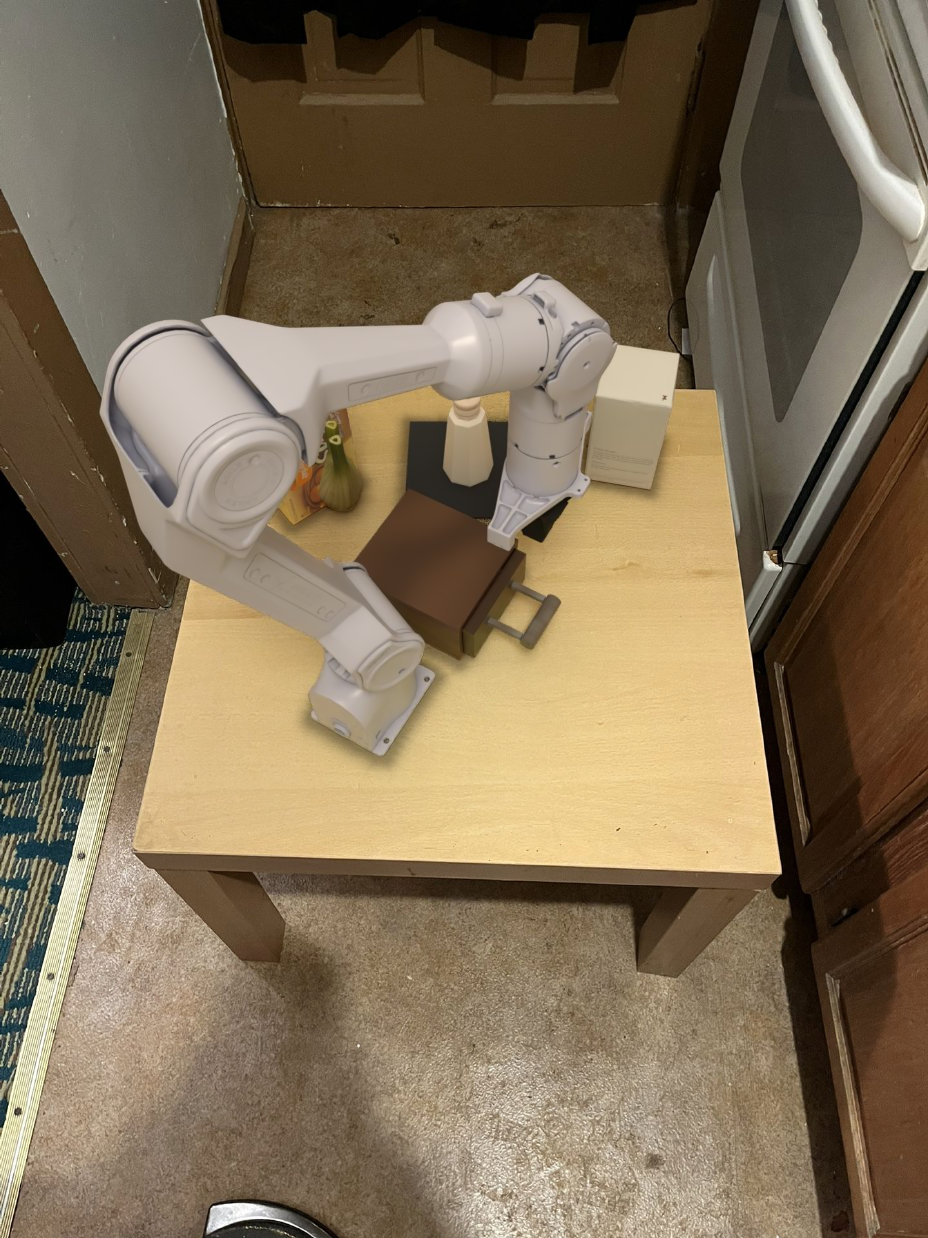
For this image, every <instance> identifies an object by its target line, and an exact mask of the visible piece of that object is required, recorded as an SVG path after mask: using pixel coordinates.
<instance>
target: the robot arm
mask: <svg viewBox="0 0 928 1238" xmlns="http://www.w3.org/2000/svg"><path fill="white" fill-rule="evenodd" d="M200 322H201V323H202V324H203V326H204V327H205V328H206V329H207V330H208V331H207V330H206V329H204V328H203V327H202V326H200V325H198V324H197V323H194V322H191V321H188V320H184V319H163V320H159V321H154V322H151V323H149V324H146V325H144V326H142V327H141V328H139V329H137V330H135V331H134V332H132V333H131V334H130V335H129V336H128V337H127V338H125V339H124V340H123V341H122V342H121V343H120V344H119V346H118V347H117V348H116V349H115V351H114V353H113V354H112V355H111V358H110V360H109V363H108V366H107V369H106V372H105V379H104V384H103V390H102V396H101V401H100V407H99V416H100V418H101V420H102V423H103V425H104V427H105V429H106V432H107V434H108V436H109V439H110V441H111V443H112V445H113V447H114V449H115V452H116V454H117V456H118V459H119V463H120V467H121V470H122V473H123V476H124V479H125V483H126V486H127V490H128V493H129V496H130V500H131V503H132V507H133V510H134V513H135V517H136V520H137V524H138V526H139V529H140V531H141V532H142V534H143V535H144V537H145V538H146V539H147V541H148V543H149V544H150V545H151V547H152V548H153V550H154V551H155V553H156V554H157V556H158V558H159V559H160V560H161V562H162V563H163V565H164V566H166V567H167V568H168V569H169V570H171V571H172V572H174V573H176V574H178V575H181V576H183V577H185V578H187V579H189V580H191V581H192V582H196V583H197V584H200V585H202V586H204V587H206V588H207V589H210V590H211V591H214V592H216V593H218V594H220V595H223V596H224V597H227V598H228V599H230V600H233V601H235V602H236V603H239V604H240V605H243V606H245V607H247V608H249V609H252V610H254V611H256V612H258V613H260V614H262V615H265V616H266V617H268V618H269V619H270V618H271V619H273V620H275V621H276V622H278V623H281V624H283V625H284V626H287V627H289V628H290V629H291V628H292V629H294V630H295V631H297V632H300V633H301V634H304V635H306V636H307V637H309V638H312V639H314V640H316V641H317V643H319V644H320V645H321V646H322V648H323V653H324V657H323V658H324V659H323V663H322V667H321V669H320V672H319V674H318V676H317V679H316V680H315V681H314V683H313V684H312V686H311V688H310V689H309V690H308V693H307V697H308V698H307V699H308V700H309V703H310V705H311V707H312V710H311V713H310V716H311V719H312V720H313V721H315V722H317V723H319V724H321V725H322V726H324V727H325V728H327V729H329V730H331V731H333V732H335V734H338V735H339V736H341V737H343V738H345V739H348V740H349V741H351V742H353V743H354V744H356V745H358V746H359V747H361V748H363V749H365V750H367V751H369V753H370V752H371V753H372V754H374V755H376V756H377V757H383V756H385V755H386V754H387V752H388V751H389V749H390V748H391V746H392V744H393V743H394V742H395V740H396V739H397V737H398V736H399V734H400V732H401V731H402V730H403V728H404V727H405V724H406V723H407V722H408V720H409V719H410V717H411V715H413V712H414V711H415V709H417V706H418V705H419V703H420V702H421V700H422V699H423V697H424V696H425V694H426V693H427V691H428V689H430V687H431V685H432V683H433V682H434V681H435V679H436V673H435V672H434V670H431V669H429V668H428V667H426V666H424V665H422V664H420V663H421V661H422V660H423V659H422V658H423V655H424V653H425V648H426V643H425V642H424V640H423V638H422V637H421V636H420V635H419V634H417V633H415V632H414V631H413V630H412V628H411V627H410V626H409V625H408V623H407V622H406V621H405V620H404V618H403V617H402V616H401V615H400V614H399V612H398V611H397V610H396V609H395V607H394V606H393V605H392V604H391V603H390V601H389V600H388V599H387V598H386V596H385V595H384V594H383V593H382V592H381V590H380V589H379V588H378V587H377V585H376V584H375V583H374V582H373V581H372V579H371V578H370V577H369V575H368V573H367V571H366V569H365V568H364V566H363V565H361V564H360V563H357V562H354V561H338V560H336V559H335V558H332V557H331V556H327V557H325V558H323V559H322V560H321V559H320V558H318V557H316V556H315V555H313V554H312V553H310V551H307V550H306V549H305V548H303V547H301V546H300V545H298V544H297V543H295V542H294V541H292V540H291V539H289V538H288V537H286V536H284V535H283V534H282V533H280V532H279V531H277V530H276V529H274V528H273V527H271V526H270V525H268V524H269V523H270V521H271V519H272V518H273V516H274V515H275V513H276V512H277V510H278V509H279V508H278V507H279V505H280V504H281V502H282V501H283V499H284V498H285V496H286V495H287V493H288V491H289V490H290V488H291V486H292V484H293V483H294V481H295V479H296V477H297V475H298V472H299V469H300V465H301V460H303V461H304V463H305V464H306V465H307V466H308V467H311V466H312V465H313V464H314V463H315V462H316V460H317V457H318V454H319V449H320V445H321V441H322V437H323V433H324V430H325V426H326V422H327V419H328V416H329V415H330V414H331V413H332V412H335V411H339V410H343V409H346V408H347V409H350V408H353V407H357V406H361V405H364V404H368V403H371V402H376V401H379V400H382V399H386V398H391V397H394V396H397V395H401V394H405V393H409V392H412V391H416V390H420V389H424V388H428V387H431V388H432V390H433V391H435V392H436V393H437V394H438V395H439V396H440V397H442V398H444V399H446V400H449V401H452V402H453V401H459V400H463V399H470V398H475V397H480V396H481V397H484V396H489V395H495V394H500V393H507V392H509V395H508V396H509V399H508V420H507V422H508V442H507V457H506V459H505V463H504V467H503V473H502V478H501V483H500V488H499V494H498V499H497V504H496V509H495V513H494V516H493V518H492V519H491V521H490V522H489V524H488V525H489V526H488V527H487V541H488V542H490V543H492V544H494V545H496V546H498V547H500V548H503V549H505V550H507V551H510V549H511V548H512V546H513V545H514V542H515V538H516V536H517V534H518V533H519V532H520V531H521V533H522V535H523V536H525V538H529V539H531V540H533V541H535V542H538V543H540V544H543V543H544V541H545V540H546V538H547V537H548V535H549V534H550V532H551V531H552V529H553V527H554V525H555V523H556V522H557V521H558V519H559V518H560V517H561V516H562V514H563V513H564V511H565V510H566V508H567V506H568V505H569V504H570V502H569V501H570V500H571V499H574V500H581V499H582V498H584V496H585V495H586V493H587V491H588V490H589V488H590V486H591V485H590V484H591V481H592V480H590V478H589V477H588V476H586V475H585V473H582V470H581V469H582V458H583V451H584V444H585V439H586V434H587V433H588V432H589V430H590V429H591V424H592V417H593V411H589V410H588V407H589V404H590V403H591V402H592V401H593V399H594V398H595V394H597V388H598V383H599V380H600V378H601V376H602V375H603V373H604V372H605V370H606V369H607V367H608V366H609V364H610V362H611V361H612V359H613V356H614V354H615V351H616V348H617V345H619V343H618V342H617V341H616V342H615V341H614V340H613V338H612V336H611V328H610V325H609V323H608V322H607V321H606V320H605V319H604V318H603V317H601V316H600V315H599V314H598V313H597V312H596V311H595V310H594V309H592V308H591V307H590V306H588V304H586V303H585V302H584V301H582V299H580V298H579V297H578V296H577V295H575V293H573V292H572V291H570V290H569V289H568V288H567V287H566V286H565V285H564V284H563V283H562V282H560V281H559V280H556V279H554V278H553V277H552V276H550V275H547V274H541V273H540V272H536V273H533V274H530V275H528V276H527V277H525V278H523V279H522V280H520V281H519V282H518V283H517V284H516V285H515V286H514V287H513V288H511V289H510V290H507V291H502V292H501V293H500V295H496V296H495V297H494V296H493V295H492V293H490V292H489V291H483V292H474V293H473V294H472V296H471V299H465V300H455V301H454V300H453V301H444V302H441V303H438V304H437V305H435V306H434V307H432V308H431V310H429V312H428V313H427V314H426V316H425V317H424V320H423V322H422V323H421V324H402V325H401V324H400V325H395V324H394V325H358V326H357V325H355V326H351V325H349V326H317V327H315V326H310V327H309V326H307V327H286V326H285V327H284V326H277V325H274V324H268V323H263V322H259V321H255V320H250V319H245V318H241V317H238V316H237V317H236V316H231V315H227V314H219V315H214V316H210V317H205V318H201V319H200ZM427 679H428V681H426V680H427ZM386 740H388V742H385V741H386Z"/></svg>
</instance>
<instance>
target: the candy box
mask: <svg viewBox="0 0 928 1238" xmlns="http://www.w3.org/2000/svg"><path fill="white" fill-rule="evenodd" d="M333 420H335V421H336V422H337V423H338V427H339V435H340V437H341V438H342V443H343V447H344V452H345V454H346V455H347V456H348V457H349V458H350V459H351V460H352V461H353V463H354V464H355V466H356V467H357V469H358V471H359V466H358V461H357V456H356V455H357V454H356V450H355V444H354V439H353V433H352V428H351V423H350V418H349V411H348V408H346V409H343V410H339V411H335V412H332V413H331V414H330V415H329V416H328V419H327V421H333ZM327 452H328V448H327V442H326V436H325V430H324V433H323V437H322V441H321V445H320V449H319V454H318V457H317V460H316V462H315V463H314V464H313V465H312V466H311V467H308V466H307V465H306V464H305V463H304V461H303V460H301V465H300V469H299V472H298V475H297V477H296V479H295V481H294V483H293V484H292V486H291V488H290V490H289V491H288V493H287V495H286V496H285V498H284V499H283V501H282V502H281V504H280V505H279V507H278V509H279V511H280V512H281V513H282V514H283V515H284V516H285V518H287V520H288V521H289V522H290V523H291V524H292V525H293V526H295V525H297V524H298V523H299V522H301V521H303V520H305V519H306V518H308V517H310V516H311V515H313V514H314V513H316V512H317V511H319V510H321V509H323V508H324V507H325V506H326V505H325V504H324V503H323V502H322V501H321V500H320V498H319V485H320V480H321V476H322V472H323V469H324V465H325V460H326V455H327ZM359 472H360V471H359ZM326 507H327V506H326Z"/></svg>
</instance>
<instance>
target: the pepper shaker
mask: <svg viewBox="0 0 928 1238" xmlns="http://www.w3.org/2000/svg"><path fill="white" fill-rule="evenodd" d="M481 401H482V396H480V397H475V398H470V399H463V400H459V401H453V400H452V406H451V408H450V410H449V413H448V416H447V431H446V441H445V452H444V462H443V469H444V471H445V472H446V474H447V476H448V477H449V479H450V480H451V482H453V483H457V484H460V485H464V486H468V487H471V486H473V485H476V484H478V483H481V482H483V481H486V480H488V477H489V475H490V472H491V470H492V467H493V459H492V452H491V445H490V438H489V431H488V424H487V421H488V417H487V413H486V411H485V409H484V408H483V407H482V405H481Z"/></svg>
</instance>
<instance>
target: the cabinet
mask: <svg viewBox="0 0 928 1238" xmlns="http://www.w3.org/2000/svg"><path fill="white" fill-rule="evenodd" d="M405 491H406V490H405ZM488 526H489V524H487V523H484V522H483V521H481V520H479V519H474V518H472V517H470V516H467V515H465V514H463V513H461V512H459V511H457V510H454V509H452V508H450V507H448V506H446V505H444V504H441V503H439V502H437V501H435V500H433V499H431V498H428V497H426V496H424V495H422V494H420V493H418V492H415V491H413V490H411V489H408V490H407V491H406V493H404V494H403V495H402V497H401V498H400V499H399V501H398V502H397V503H396V505H395V506H394V507H393V508H392V510H391V511H390V512H389V514H388V515H387V517H386V518H385V519H384V521H383V522H382V523H381V524H380V526H379V527H378V528H377V530H376V531H375V532H374V533H373V535H372V537H371V538H370V539H369V541H367V543H366V545H364V547H363V548H362V550H361V551H360V552H359V553H358V555H357V556H356V557H355V558H354V560H353V562H357V563H360V564H361V565H363V566H364V568H365V569H366V571H367V573H368V575H369V577H370V578H371V579H372V581H373V582H374V583H375V584H376V585H377V587H378V588H379V589H380V590H381V592H382V593H383V594H384V595H385V596H386V598H387V599H388V600H389V601H390V603H391V604H392V605H393V606H394V607H395V609H396V610H397V611H398V612H399V614H400V615H401V616H402V617H403V618H404V620H405V621H406V622H407V623H408V625H409V626H410V627H411V628H412V630H413V631H414V632H415V633H417V634H419V635H420V636H421V637H422V638H423V640H424V642H425V645H426V644H427V645H428V646H431V647H432V648H434V649H436V650H438V651H440V652H442V653H444V654H446V655H448V656H449V657H452V658H454V659H456V660H458V661H461V660H462V659H463V658H464V656H465V655H466V653H464V652H463V632H462V627H463V626H464V624H465V623H466V621H467V620H468V618H469V617H470V615H471V614H472V612H473V611H474V609H475V608H476V606H477V605H478V603H479V601H480V600H481V598H482V597H483V595H484V594H485V592H486V591H487V589H488V588H489V586H490V585H491V583H492V582H493V580H494V579H495V577H496V576H497V574H498V573H499V571H500V570H501V568H503V567H504V565H505V564H506V562H507V561H508V559H509V558H510V556H511V555H512V553H513V552H514V550H515V549H518V550H519V538H517V537H515V542H514V545H513V546H512V548H511V549H510V551H507V550H505V549H503V548H500V547H498V546H496V545H494V544H492V543H490V542H488V541H487V527H488Z"/></svg>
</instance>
